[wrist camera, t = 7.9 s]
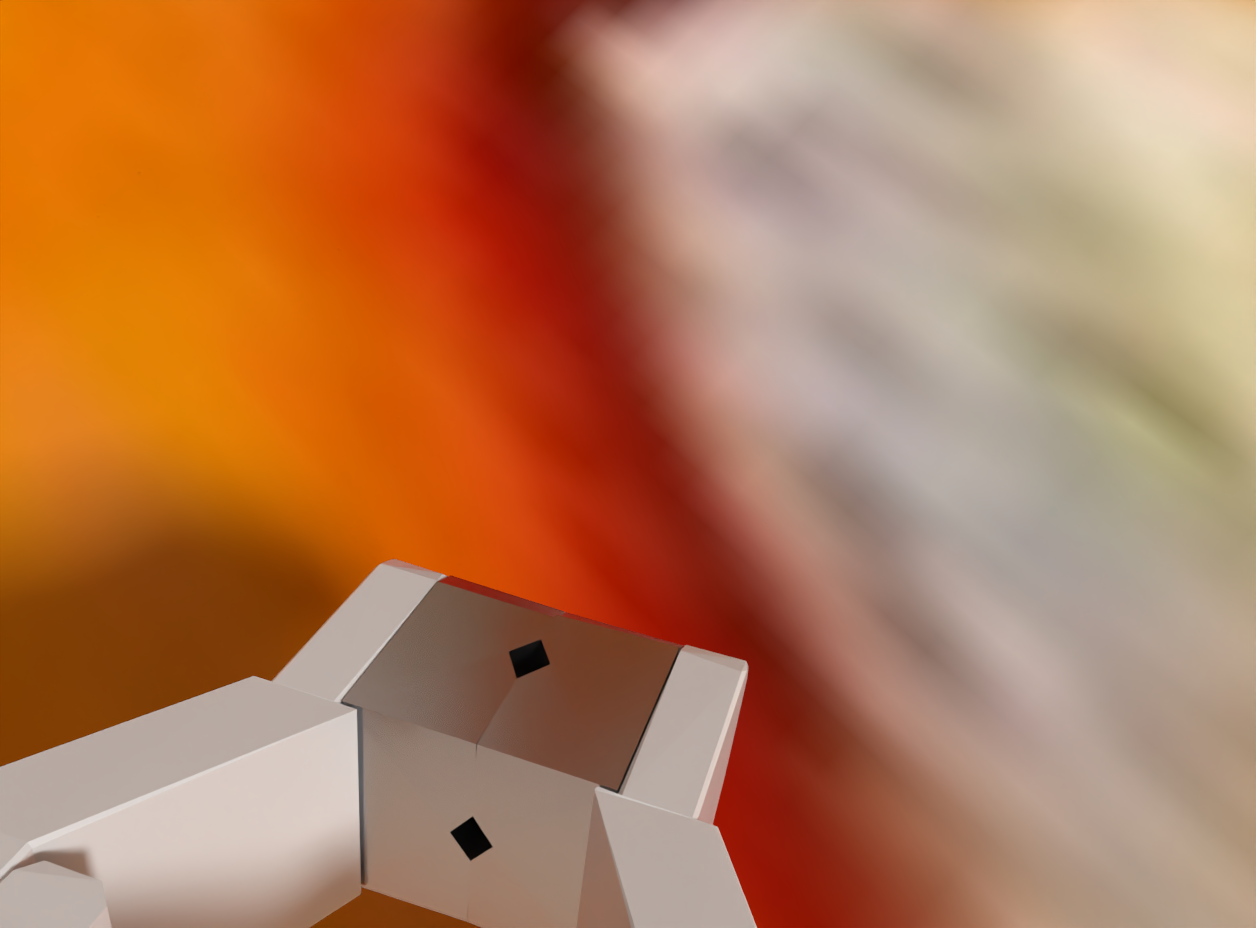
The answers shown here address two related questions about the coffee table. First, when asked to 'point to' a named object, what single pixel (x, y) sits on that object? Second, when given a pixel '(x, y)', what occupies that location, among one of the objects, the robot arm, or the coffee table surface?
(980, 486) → the coffee table surface
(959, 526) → the coffee table surface
